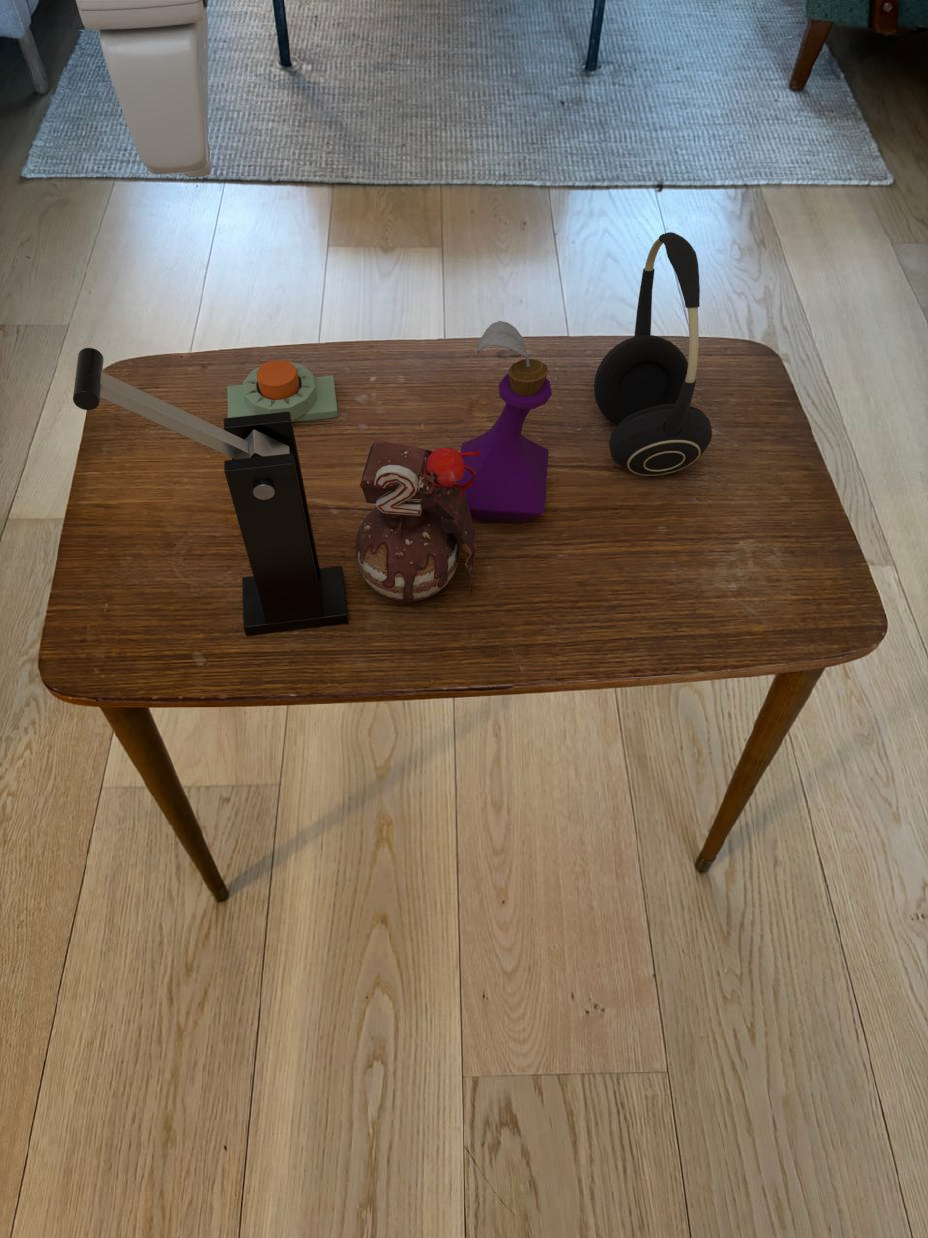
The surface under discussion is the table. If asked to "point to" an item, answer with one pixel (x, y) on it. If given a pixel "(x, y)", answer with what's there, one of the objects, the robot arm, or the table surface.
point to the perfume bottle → (509, 442)
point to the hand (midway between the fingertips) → (197, 165)
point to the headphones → (655, 380)
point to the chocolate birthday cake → (414, 520)
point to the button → (278, 380)
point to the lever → (163, 411)
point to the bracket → (280, 537)
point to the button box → (305, 405)
